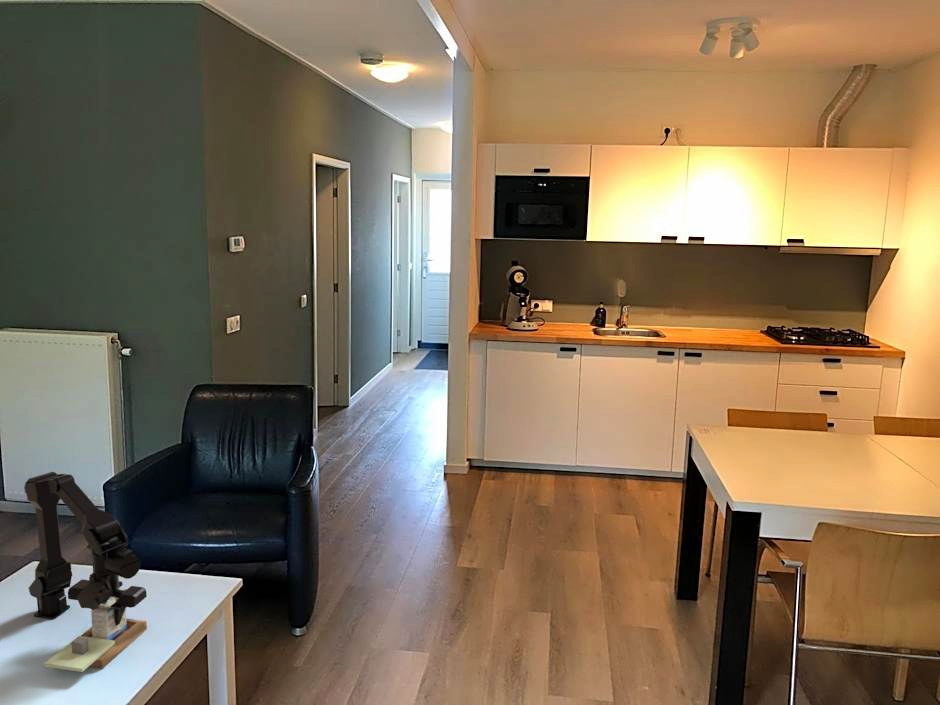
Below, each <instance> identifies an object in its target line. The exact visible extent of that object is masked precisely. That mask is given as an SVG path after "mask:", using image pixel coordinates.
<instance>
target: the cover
mask: <svg viewBox="0 0 940 705" xmlns="http://www.w3.org/2000/svg"><path fill="white" fill-rule="evenodd" d="M114 644H115V641H113V640H106V639H99V638H92V637H85V636H81V635H78V636H77V637H76V638H75V639H73V640H71V641H70V642H69V643H68V644H67V645H65V646H64V647H63V648H61V649H60V650H59V651H58V652H57V653H55V654H54V655H53V656H52V657H50V658H49V659H48V660H47V661H45V662H44V663H43V664H44V667H46V668H47V667H48V668H53V669H54V668H55V669H60V670H68V671H73V672H81V673H83V672H84V671H85V670H87V669H88V668H90V667H89V666H90V665H91V664H92V663H93V662H94V661H96V660H97V659H98V658H99V657H100V656H101V655H102V654H104V653H105V652H106V651H107V650H108V649H109V648H111V647H112V646H113V645H114Z"/></svg>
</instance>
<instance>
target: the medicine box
mask: <svg viewBox="0 0 940 705" xmlns="http://www.w3.org/2000/svg"><path fill="white" fill-rule="evenodd" d="M115 602H116V598H109V599H108V601H107V602H106V603H105V604H100V606H99V607H98V608H97V609H93V610H92V609H90V610H91V613H90V615H91V627H92V638H99V639H106V640H112V639H114V638H115V637H116V636H117V635H119V634H120V633H121V632H122V631H124V630H125V629H126V628H127V623H126V618H127V608H126V609H125V612H124V614H123V617H122V619H121V621H120V624H119V625H116V624H115V617H114V609H113V608H112V607H111V605H112V604H114V603H115Z"/></svg>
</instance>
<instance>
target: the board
mask: <svg viewBox="0 0 940 705" xmlns="http://www.w3.org/2000/svg"><path fill="white" fill-rule="evenodd" d="M126 623H127V628H126V629H125V630H124V631H122V632H121V633H120V634H119V635H117V636H116V637H115V638H114V639H112V640H113V641H115V644H114V645H113V646H112V647H111V648H109V649H108V650H107V651H106V652H105V653H104V654H102V655H101V656H100V657H99V658H98V659H97V660H96V661H94V662H93V663H92V664H91V665H90V666H89V667H88V668H93V669H99V670H103V669H104V668H106V666H107V665H109V664H111V662H112V661H113V660H115V659H116V657H118V656H119V655H120V654H121V653H122V652H123V651H124V650H125V649H126V648H128V647H129V646H130V645H131V644H132V643H133V642H134V641H136V640H137V639H138V638H139V637H140V636H141V635H142V634H143V633H145V632H146V631H147V630H148V626H147V623H148V622H147V620H141V619H134V618H127V617H126ZM80 636H85V637H92V626H91V627H90V628H88V629H86V630H85V631H84V632H83V633H82V634H80Z"/></svg>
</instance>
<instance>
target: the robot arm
mask: <svg viewBox="0 0 940 705" xmlns="http://www.w3.org/2000/svg"><path fill="white" fill-rule="evenodd" d="M24 492H25V494H26V498H27V501H28V502H29V503H30V504H31V505H32V506H33V507H34V508H35V514H36V515H35V516H36V524H37V525H36V526H37V533H38V544H39V551H40V553H39V554H40V555H39V556H40V560H39V562H38V563H37V566H36V567H35V570H34V578H35V579H34V580H33V581H32V583H31V584H30V585H29V587H28V592H29V595H30V596H31V597H34V598H36V603H37V611H35V612H34V613H33V617H38V618H46V619H56V618H57V617H59V616H60V615H62V614H63V613H65V612H66V611H68V610H69V609H70V608H71V605H69V604H68V603H67V599H68V600H73V601H77V602H78V603H79V606H80V608H81V609H90V610H93V609H97V608H98V607H99V606H100V604H105V603H106V602H107V601H108V599H109V598H116V602H115V603H114V604H112V605H111V607H112V608H113V609H114V617H115V624H116V625H119V624H120V621H121V619H122V617H123V614H124V612H125V609H126V610H127V608H135V607H136V606H137V605H138V604H140V603H141V602H143V601H144V600H145V599H146V598H147V590H146V588H145V587H144V586H137V585H131V586H129V587H128V588H125V589H120V588H121V587H122V586H123V581H120V578H123V579H125V580H129V579H131V578H133V577H135V576H136V575H137V574H138V572H139V571H140V569H141V564H142V561H141V559H140V557H139V556H137V555H135V554H133V552H134V551H133V550H132V549H127V548H125V546H127V545H130V542H129V540H128V535H127V534H126V532H125V530H124V529H123V527H122V526H121V522H119V520H117V518H115V517H114V516H113V515H111V513H109V512H107V511H104V510H101V509H99V508H98V507H97V506H96V505H95V504H94V503H93V501H92V500H91V499H90V498H89V497H88V496H87V494H86V493H85V492H84V491H83V490H82V489H81V488H80V487H79V485H78V484H77V483H76V481H75V478H74V475H72V474H70V473H69V474H67V473H59V474H57V473H56V472H55V471H49V472H46V473H42V474H39V475H35V476H33V477H29V478H27V481H25V483H24ZM60 500H61V502H63V504H64V505H65V506H66V507H67V508H68V510H70V512H71V513H72V514H73V515H74V517H76V519H77V520H78V522H80V524H81V532H82V533H81V534H82V535H83V537H84V539H85V541H86V542H87V543H88V544H87V545H86V548H87V549H88V550H90V551H91V560H92V561H91V562H92V573H91V574H89V577H88V579H83V578H82V579H80V580H79V581H77V582H76V583H75V584H73V585H72V586H71V583H72V578H73V573H72V564H71V562H69V561H67V560H66V559H65V558H64V557H63V554H62V546H61V533H60V525H59V514H58V504H59V502H60ZM116 539H117V540H116ZM113 540H115V541H113ZM111 541H112V542H111ZM119 577H120V578H119ZM68 588H69V589H68ZM65 589H68V591H67V595H66V592H65V591H66V590H65Z"/></svg>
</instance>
